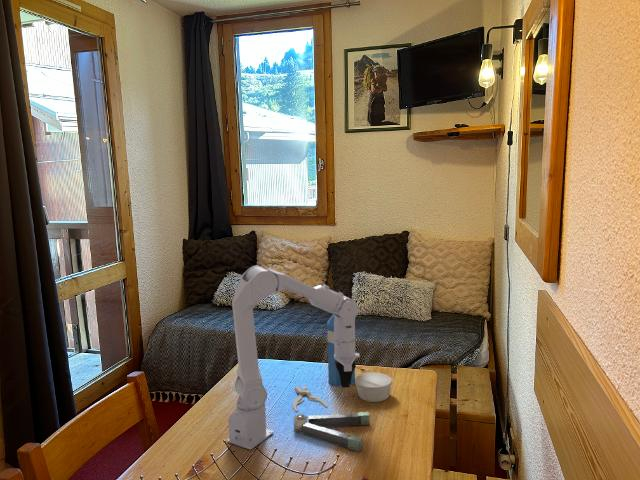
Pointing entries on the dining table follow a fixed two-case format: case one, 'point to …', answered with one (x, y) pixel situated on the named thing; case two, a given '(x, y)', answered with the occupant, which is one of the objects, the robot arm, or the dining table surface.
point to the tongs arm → (340, 419)
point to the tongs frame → (327, 434)
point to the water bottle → (332, 369)
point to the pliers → (305, 392)
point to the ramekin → (373, 386)
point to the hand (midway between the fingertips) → (345, 386)
